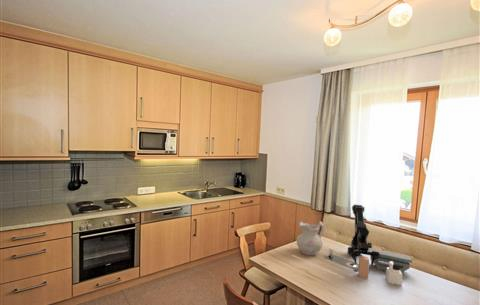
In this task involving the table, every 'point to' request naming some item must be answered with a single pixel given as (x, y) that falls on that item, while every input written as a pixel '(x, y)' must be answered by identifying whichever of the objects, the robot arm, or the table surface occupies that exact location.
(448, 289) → the table surface
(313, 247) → the ceramic pitcher
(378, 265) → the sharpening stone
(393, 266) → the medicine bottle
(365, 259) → the post
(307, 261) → the table surface
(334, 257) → the drilled plate
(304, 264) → the table surface
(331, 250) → the steel pin
